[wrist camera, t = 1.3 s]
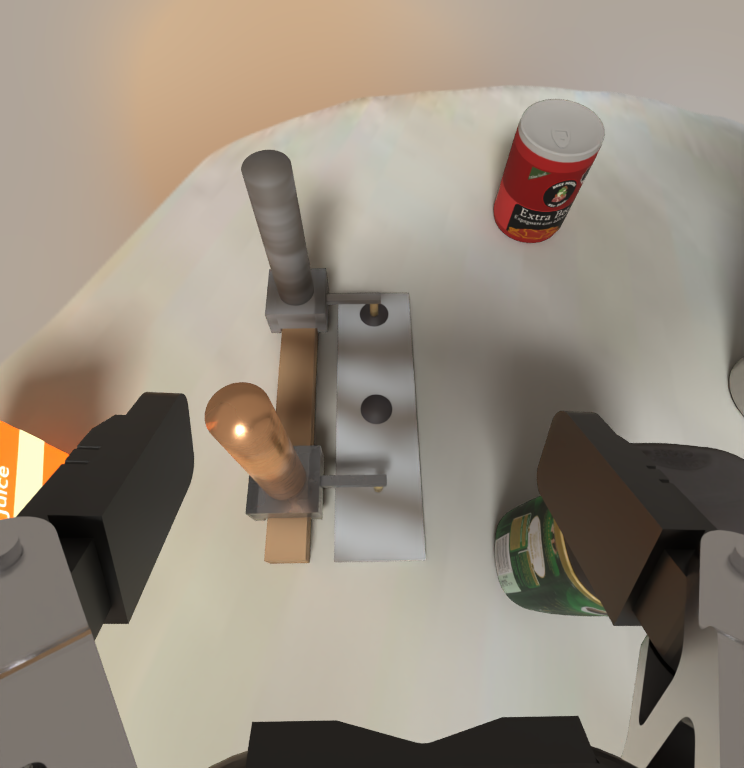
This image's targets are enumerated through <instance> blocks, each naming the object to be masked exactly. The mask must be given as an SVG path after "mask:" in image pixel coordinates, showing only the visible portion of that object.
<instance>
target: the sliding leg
mask: <svg viewBox="0 0 744 768" xmlns="http://www.w3.org/2000/svg"><path fill="white" fill-rule="evenodd" d="M205 423H206V426H207V429H208V430H209V432H210V433H211V434H212V436H213V437H214V438H215V439H216V440H217V441H218V442H219V443H220V444H221V445H222V446H223V447H224V448H225V449H226V450H227V451H228V453H229V454H230V455H231V456H232V457H233V458H234V459H235V460H236V461H237V462H238V463H239V464H240V465H241V466H242V467H243V468H244V470H245V471H246V472H247V473H248V474H249V484H248V494H247V504H246V514H247V515H248V516H249V517H251V518H252V519H254V520H255V521H262V520H266V518H302V517H311V519H312V520H315V519H322V518H323V488H339V487H373V488H374V491H375V492H378V493H379V492H381V491H382V490H383V487H387V474H376V475H324V455H323V452H322V449H321V445H311V446H293V445H292V443H291V441H290V439H289V437H288V435H287V433H286V431H285V429H284V427H283V425H282V423H281V421H280V419H279V417H278V415H277V413H276V411H275V409H274V407H273V405H272V403H271V401H270V399H269V397H268V396H267V394H266V393H265V392H264V390H262V389H261V388H260V387H258V386H256V385H254V384H251V383H245V382H240V383H233V384H230V385H227V386H225V387H223V388H222V389H220V390H219V391H217V392H216V393H215V394H214V395H213V397H212V398H211V399H210V401H209V403H208V404H207V407H206V411H205Z"/></svg>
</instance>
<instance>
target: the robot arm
mask: <svg viewBox="0 0 744 768" xmlns="http://www.w3.org/2000/svg"><path fill="white" fill-rule="evenodd" d="M729 382H730V391H731V394H732V398H733V400H734V402H735V404H736V406H737V407H738V409H739V410H740V411H741V413H742V414H743V415H744V357H743V358H741V359H740V360H739V361H738V362H737V363H736V364H735V365H734V367H733V369H732V371H731V374H730V379H729ZM193 469H194V452H193V443H192V434H191V426H190V417H189V409H188V402H187V398H186V396H185V395H184V394H180V393H157V392H145V393H143V394H142V395H141V396H140V398H139V399H138V400H137V401H136V403H135V404H134V405H133V406H132V408H131V409H130V410H129V412H128V413H127V414H126V415H114V416H112V417H111V418H109V419H107V420H106V421H104V422H102V423H101V424H99V425H97V426H96V427H94V428H92V429H91V431H90V432H89V433H88V434H87V435H86V436H85V437H84V439H83V440H82V441H81V442H80V443H79V444H78V446H77V449H74V450H73V451H72V452H71V454H70V455H69V456H68V457H67V458H66V459H65V463H64V464H61V465H60V466H59V467H58V469H57V470H56V471H55V472H54V473H53V474H52V476H51V477H50V478H49V479H48V480H47V481H46V482H45V484H44V485H43V486H42V487H41V488H40V489H39V490H38V492H37V493H36V494H35V495H34V496H33V497H32V499H31V500H30V501H29V502H28V503H27V504H26V505H25V507H24V508H23V509H22V510H21V511H20V512H19V514H18V515H17V516H16V517H12V518H7V519H2V520H0V768H137V765H136V762H135V759H134V756H133V753H132V750H131V747H130V744H129V742H128V739H127V736H126V733H125V730H124V727H123V724H122V721H121V718H120V715H119V712H118V709H117V706H116V703H115V700H114V697H113V694H112V691H111V688H110V685H109V683H108V680H107V677H106V674H105V671H104V668H103V665H102V662H101V659H100V656H99V653H98V650H97V647H96V644H95V639H96V637H97V635H98V633H99V631H100V629H101V627H102V625H103V624H129V621H130V619H131V617H132V615H133V612H134V610H135V608H136V606H137V603H138V601H139V599H140V597H141V594H142V592H143V590H144V587H145V585H146V583H147V581H148V578H149V576H150V574H151V572H152V569H153V567H154V565H155V563H156V560H157V558H158V556H159V553H160V551H161V549H162V547H163V544H164V542H165V540H166V538H167V535H168V533H169V531H170V529H171V526H172V524H173V522H174V519H175V517H176V515H177V513H178V510H179V508H180V506H181V504H182V501H183V499H184V497H185V495H186V492H187V490H188V488H189V485H190V483H191V479H192V475H193ZM537 485H538V489H539V492H540V495H541V497H542V499H543V500H544V502H545V504H546V506H547V507H548V509H549V511H550V513H551V515H552V516H553V518H554V520H555V522H556V523H557V525H558V527H559V529H560V531H561V532H562V534H563V536H564V538H565V539H566V541H567V543H568V545H569V547H570V548H571V550H572V552H573V554H574V556H575V557H576V559H577V561H578V563H579V564H580V566H581V568H582V570H583V572H584V573H585V575H586V577H587V579H588V580H589V582H590V584H591V586H592V588H593V589H594V591H595V593H596V595H597V597H598V598H599V600H600V602H601V604H602V605H603V607H604V609H605V611H606V613H607V614H608V616H609V618H610V620H611V621H612V623H613V625H614V626H642V627H643V628H644V630H645V632H646V633H647V635H646V637H645V639H644V641H643V642H642V644H641V648H640V653H639V660H638V667H637V674H636V680H635V687H634V694H633V701H632V707H631V714H630V721H629V727H628V734H627V739H626V743H625V746H624V750H623V753H622V756H621V758H619V757H618V756H615V755H613V754H610V753H608V752H605V751H603V750H601V749H598V748H595V747H592V746H590V743H589V741H588V738H587V736H586V733H585V731H584V728H583V726H582V724H581V721H580V719H579V716H551V717H502V718H499V719H496V720H493V721H491V722H488V723H485V724H482V725H479V726H476V727H474V728H471V729H468V730H465V731H462V732H459V733H457V734H454V735H451V736H448V737H445V738H443V739H440V740H437V741H434V742H430V743H415V742H412V741H408V740H404V739H401V738H397V737H394V736H390V735H386V734H383V733H379V732H376V731H372V730H369V729H365V728H361V727H358V726H354V725H351V724H347V723H343V722H340V721H284V722H252V727H251V734H250V740H249V747H248V751H246V752H243V753H240V754H237V755H234V756H231V757H229V758H227V759H225V760H223V761H221V762H219V763H217V764H214V765H212V766H210V767H209V768H744V535H743V534H739V533H735V532H731V531H724V530H718V529H717V528H716V527H715V526H714V525H713V524H712V523H711V522H710V521H709V520H708V519H707V518H706V517H705V516H704V515H703V514H702V513H701V512H700V511H699V510H698V509H697V508H696V507H695V506H694V505H693V503H692V502H691V501H690V500H689V499H688V498H687V497H686V496H685V495H684V494H683V493H682V492H681V491H680V490H679V489H678V488H677V487H676V486H675V485H674V484H673V483H669V479H668V478H667V477H666V476H665V475H664V473H663V472H662V471H661V470H660V469H656V465H655V464H654V463H653V462H652V461H651V460H650V459H649V458H648V457H647V456H646V455H645V454H644V453H643V452H642V451H641V450H640V449H639V448H637V447H636V446H634V445H632V444H631V443H629V442H628V441H626V440H625V439H623V438H621V437H620V436H618V435H617V434H616V433H615V432H614V431H613V430H612V429H611V428H610V427H609V426H608V425H607V424H606V423H605V422H604V420H603V419H602V418H601V417H600V416H599V415H598V414H596V413H593V412H573V411H560V412H558V413H557V414H556V415H555V416H554V418H553V420H552V423H551V427H550V430H549V433H548V436H547V439H546V443H545V446H544V449H543V452H542V455H541V459H540V462H539V465H538V469H537Z"/></svg>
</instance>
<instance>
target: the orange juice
mask: <svg viewBox="0 0 744 768" xmlns="http://www.w3.org/2000/svg"><path fill="white" fill-rule="evenodd" d="M68 456H69V454H67V453H65V452H63V451H61V450H59V449H57V448H55V447H53V446H51V445H49V444H47V443H45V442H44V441H43V440H41V439H39V438H37V437H35V436H33V435H31V434H29V433H27V432H25V431H23V430H21V429H20V430H19V429H17V428H15V427H13V426H11V425H9V424H6V423H4V422H2V421H0V520H2V519H7V518H12V517H16V516H17V515H18V514H19V512H20V511H21V510H22V509H23V508H24V507H25V505H26V504H27V503H28V502H29V501H30V500H31V499H32V497H33V496H34V495H35V494H36V493H37V492H38V490H39V489H40V488H41V487H42V486H43V485H44V484H45V482H46V481H47V480H48V479H49V478H50V477H51V476H52V474H53V473H54V472H55V471H56V470H57V469H58V467H59V466H60V465H61V464H64V463H65V459H66V458H67V457H68Z"/></svg>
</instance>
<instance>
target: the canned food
mask: <svg viewBox="0 0 744 768" xmlns="http://www.w3.org/2000/svg"><path fill="white" fill-rule="evenodd" d="M604 136H605V129H604V126H603V123H602V122H601V120H600V118H599V117H598V116H597V115H596V114H595V113H594V112H593V111H591V110H590V109H589V108H587V107H585V106H583V105H581V104H579V103H576V102H573V101H569V100H562V99H549V100H543V101H539V102H537V103H535V104H533V105H531V106H530V107H528V108H527V109H526V110H525V112H524V113H523V115H522V117H521V119H520V122H519V124H518V128H517V131H516V134H515V137H514V140H513V143H512V147H511V150H510V153H509V157H508V160H507V164H506V167H505V170H504V174H503V177H502V180H501V184H500V187H499V190H498V194H497V197H496V200H495V204H494V217H495V221H496V224H497V226H498V227H499V228H500V230H501V231H502V232H503V233H504V234H506V235H507V236H509V237H510V238H512V239H514V240H517V241H520V242H526V243H536V242H541V241H544V240H546V239H548V238H550V237H551V236H552V235H553V234H554V233H555V232H556V231H557V230H558V229H559V228H560V227H561V225H562V223H563V221H564V219H565V217H566V215H567V213H568V211H569V209H570V207H571V205H572V203H573V201H574V199H575V198H576V196H577V194H578V192H579V190H580V188H581V186H582V184H583V182H584V180H585V178H586V176H587V174H588V172H589V170H590V168H591V166H592V164H593V162H594V160H595V158H596V156H597V153H598V151H599V149H600V147H601V145H602V142H603V140H604Z"/></svg>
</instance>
